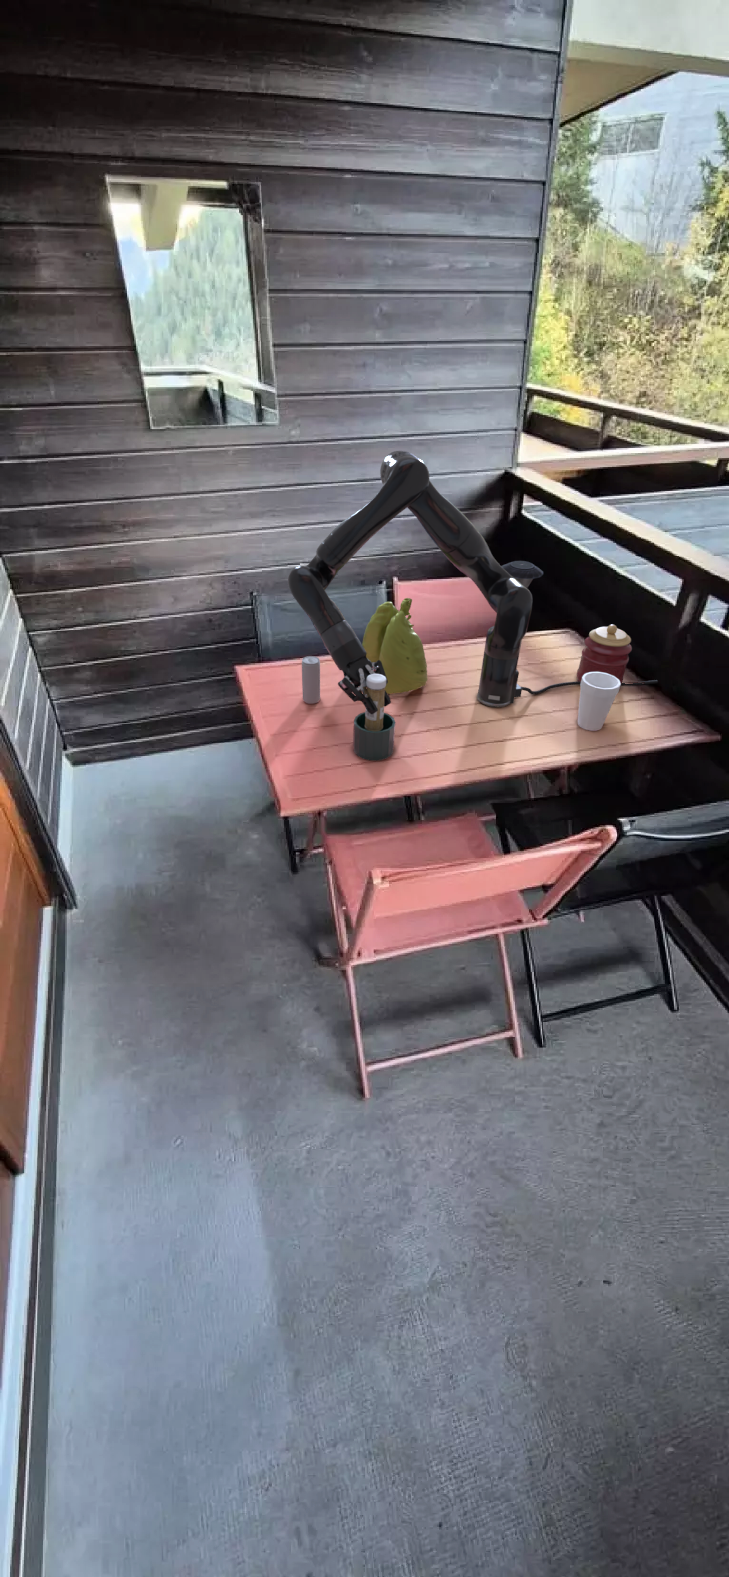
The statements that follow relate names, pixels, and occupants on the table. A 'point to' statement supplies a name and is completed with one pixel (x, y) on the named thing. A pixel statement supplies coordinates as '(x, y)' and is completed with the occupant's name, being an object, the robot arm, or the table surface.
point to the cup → (373, 739)
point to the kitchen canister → (605, 652)
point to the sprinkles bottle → (375, 701)
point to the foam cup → (596, 699)
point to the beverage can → (311, 679)
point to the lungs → (396, 647)
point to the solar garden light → (523, 571)
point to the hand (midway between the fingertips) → (381, 708)
